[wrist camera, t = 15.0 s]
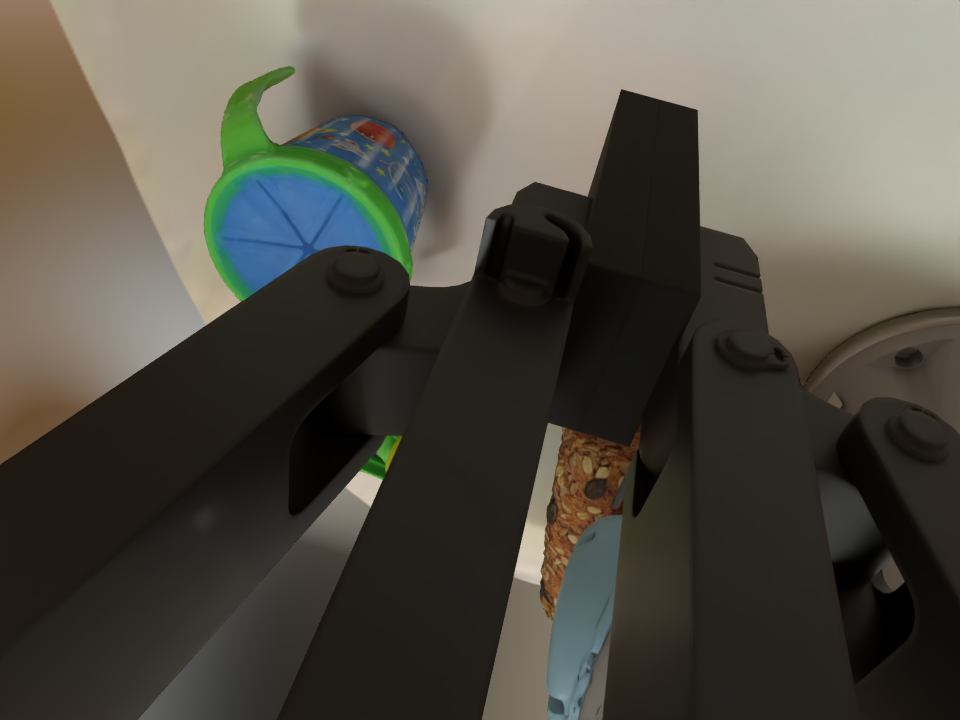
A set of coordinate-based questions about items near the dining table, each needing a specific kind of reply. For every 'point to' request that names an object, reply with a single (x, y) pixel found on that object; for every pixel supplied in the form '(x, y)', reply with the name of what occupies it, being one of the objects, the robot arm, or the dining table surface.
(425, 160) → the dining table surface
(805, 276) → the dining table surface
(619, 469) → the bread
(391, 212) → the snack cup
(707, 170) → the dining table surface
